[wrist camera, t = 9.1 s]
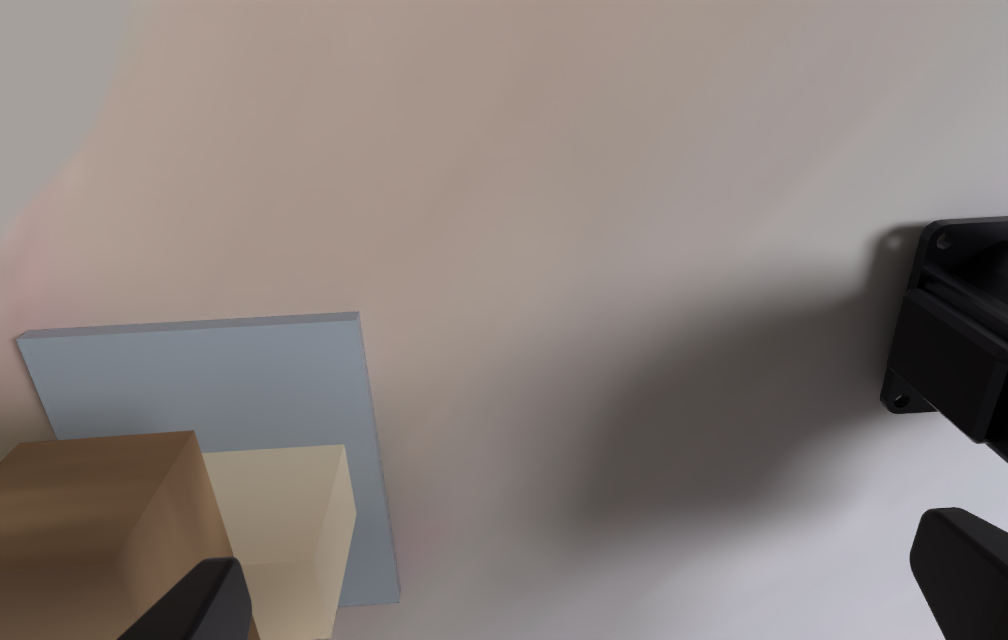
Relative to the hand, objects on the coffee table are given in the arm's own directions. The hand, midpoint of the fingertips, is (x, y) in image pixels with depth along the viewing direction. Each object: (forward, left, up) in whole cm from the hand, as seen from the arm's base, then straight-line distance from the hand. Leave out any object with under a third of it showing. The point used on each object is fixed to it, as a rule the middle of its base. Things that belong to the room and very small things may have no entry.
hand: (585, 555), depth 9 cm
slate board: (+10, +8, -12) cm, 18 cm away
